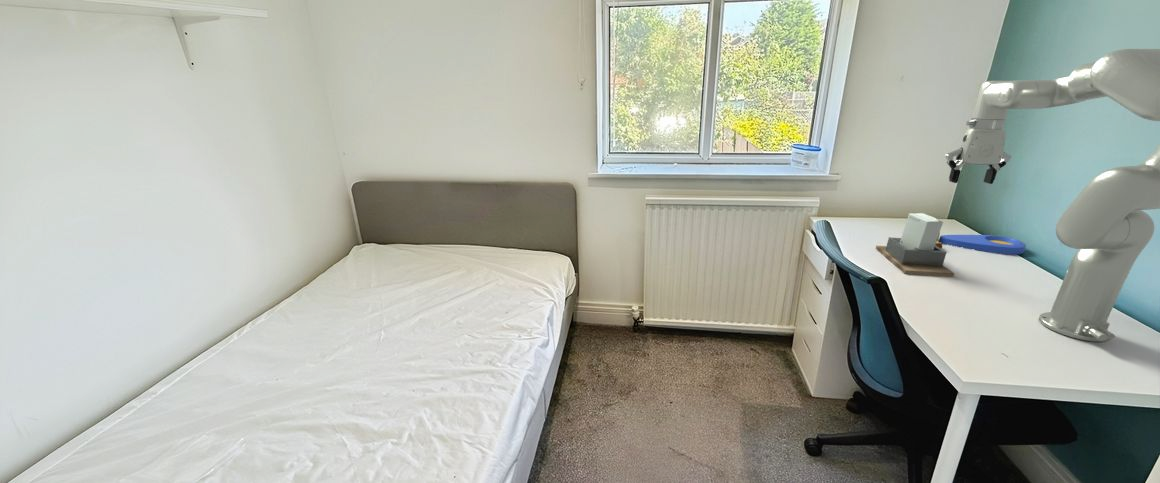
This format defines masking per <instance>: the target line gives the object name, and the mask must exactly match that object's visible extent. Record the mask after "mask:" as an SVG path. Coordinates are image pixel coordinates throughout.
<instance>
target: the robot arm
mask: <svg viewBox="0 0 1160 483" xmlns="http://www.w3.org/2000/svg"><path fill="white" fill-rule="evenodd" d="M1100 98H1101V99H1102V98H1108V99H1110V100H1112V101H1114V102H1115V103H1117V104H1118V105H1120V106H1121V107H1124V108H1125V109H1126V110H1127V111H1129V112H1131V113H1133V114H1134V115H1135V116H1138V117H1140V118H1142V119H1145V120H1148V121H1152V122H1160V48H1123V49H1117V50H1114V51H1112V52H1110V53H1106V54H1105V55H1103V56H1101V57H1100V58H1099V59H1098V60H1097V61H1094V62H1090V63H1084V64H1081V65H1079V66H1077V67H1076V68H1074V69H1073V71H1072V72H1071V73H1070V75H1068V76H1063V77H1057V78H1053V79H1027V80H1026V79H1025V80H1024V79H1017V80H1015V79H1014V80H987V81H984V82H983V83H982V84H981V86H980V88H979V93H978V96H977V100H976V104H975V107H974V109H973V110H974V111H973V114H972V118H971V119H970V120H967V121H966V126H969V128H966V130H965V132H964V134H963V136H962V138H961V141H960V142H959V145H958V149H956V150H953V151H950V152H947V153H946V154H945V155H944V157H945V159H946V164H947V165H948V166H949V168H950V169H951V170H950V172H949V177H948V179H949V180H948V181H949V182H950V183H954V184H957V183H959V179H960V175H961V172H962V171H961V168H962V167H963V166H965V165H976V166H988V168H987V169H986V172H985V174H984V178H983V182H984V183H985V184H989V185H993V183H994V181H995V180H996V176H997V173H998V172H999V171H1000V170H1001V169H1002V168H1003V167H1005V166H1006V165H1007V163H1008V162H1009V161H1010V160H1011V159H1012V155H1011V154H1009V153H1007V152H1005V151H1004V150H1005V145H1006V144H1005V143H1006V130H1003V129H1004V127H1005V123H1006V120H1007V116H1008V112H1009V110H1022V109H1023V110H1029V109H1030V110H1040V109H1041V110H1042V109H1050V108H1055V107H1057V108H1058V107H1061V106H1063V107H1064V106H1068V105H1075V104H1078V103H1082V102H1086V101H1089V100H1094V99H1095V100H1096V99H1100ZM954 158H955V161H954ZM1159 209H1160V144H1159V145H1158V147H1157V148H1155V150H1154V151H1153V152H1152V153H1151V154H1150V155H1149V157H1147V158H1146V159H1145V160H1144V161H1143V162H1141V163H1140V164H1138V165H1128V166H1127V165H1125V166H1116V167H1114V168H1113V167H1112V168H1110V169H1109V168H1108V169H1107V170H1104V171H1103V172H1101V173H1099V174H1098V175H1096V176H1095V177H1094V178H1092V179H1091V180H1090V181H1089V182H1088V183H1087V184H1086V186H1085V187H1084V188H1083V189H1082V191H1081V192H1080V193H1078V195H1077V196H1076V198H1074V200H1073V201H1072V202H1071V204H1070V205H1069V206H1068V207H1067V208H1066V209H1065V210H1064V211H1063V213H1062V214H1061V216H1060V217H1059V219H1058V220H1057V223H1056V224H1055V234H1056V237H1057V239H1058V240H1059V241H1060V243H1061V244H1063V245H1064V246H1066V247H1068V248H1072V249H1075V250H1077V251H1076V252H1075V253H1074V255H1073V257H1072V259H1071V261H1070V264H1069V265H1068V267H1067V270H1066V273H1065V276H1064V278H1063V280H1062V283H1061V285H1060V287H1059V290H1058V293H1057V295H1056V298H1055V300H1054V302H1053V305H1052V307H1051V309H1050V312H1049V311H1047V312H1042V313H1040V315H1039V317H1038V320H1039V322H1040V324H1042V325H1043V326H1044V327H1046V328H1048V329H1049V330H1051V331H1054V332H1055V333H1059V334H1060V335H1062V336H1063V335H1064V336H1066V337H1070V338H1074V339H1078V340H1082V341H1089V342H1106V341H1109V340H1112V339H1114V338H1115V334H1114V333H1113V332H1111V331H1109V326H1110V324H1111V323H1110V322H1108V318H1110V315H1111V312H1112V311H1113V308H1114V306H1115V304H1116V302H1117V299H1118V297H1119V296H1120V293H1121V292H1122V288H1123V287H1124V284H1125V282H1126V281H1127V278H1128V276H1129V274H1130V272H1131V270H1132V268H1133V265H1134V264H1135V262H1136V260H1137V259H1138V258H1139V255H1140V254H1141V253H1142V252H1143V250H1145V248H1146V247H1147V245H1148V244H1149V243H1150V241H1151V239H1152V238H1153V235H1154V232H1155V223H1154V220H1153V218H1152V217H1151V215H1149V214H1148V213H1147V212H1145V211H1146V210H1147V211H1148V210H1159Z"/></svg>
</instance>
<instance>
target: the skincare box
mask: <svg viewBox="0 0 1160 483" xmlns="http://www.w3.org/2000/svg"><path fill="white" fill-rule="evenodd" d="M907 215H908V216H907V219H906V222H905V224H904V228H903V232H902V234H901V237H900V238H901V240H900V244H901V245H902V246H904V247H905V248H906V249H914V250H931V251H933V250H934V247H935V244H936V241H938V239H939V238H938V235H939V232H941V229H942V226H943V223H944V221H943V220H940V219H938V218H936V217H934V216H931V215H928V214H926V213H924V212H922V213H921V212H920V213H919V212H917V213H908V214H907ZM939 236H940V235H939ZM937 238H938V239H937Z"/></svg>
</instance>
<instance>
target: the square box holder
mask: <svg viewBox="0 0 1160 483" xmlns="http://www.w3.org/2000/svg"><path fill="white" fill-rule="evenodd" d="M900 240H901V237H888V239H887V244H886V245H875V250H876V251H878V252H879V253H880V254H881V255H883V256H884V257H885V259H887V260H888V261H889V262H890V263H892V264H893V265H894V267H896V268H897V269H898V270H900V271H901V272H902V273H903V274H905V275H915V276H916V275H919V276H920V275H921V276H931V277H932V276H934V277H951V278H954V276H955V272H953V271H952V270H951V269H949V268H948V267H946V266H945V265H944V262H945V259H946V256H947V252H946V251H945V250H943V248H942V249H941V248H939V247H938V246H936V245H935V247H934V250H933V251H931V250H914V249H906V248H905V247H904V246H902V245H901V244H900Z"/></svg>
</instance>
